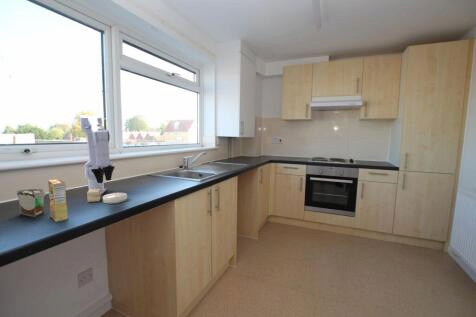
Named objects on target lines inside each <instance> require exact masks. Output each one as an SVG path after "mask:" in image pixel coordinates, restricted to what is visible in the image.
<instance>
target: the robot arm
mask: <svg viewBox="0 0 476 317" xmlns="http://www.w3.org/2000/svg"><path fill="white" fill-rule="evenodd" d="M102 119H103V118H102V117H101V116H100V115H99V116H96V115H95V116H93V115H80V116H79V123H80V129H81V132H83V133H85V136H86V141H87V143H86V144H87V149H88V150H87V153H88V161H87V162H86V163H84V166H83V168H84V170H83V172H84V177H85V178H87V182H88V191H89V190H97V189H100V190H101V194H104V192H106V191H107V188H105V186H104V184H105V183H104V182H105V181H107V182H108V181H111V180H112V176H113V172H114V170H115V167H116V166H114V164H113V162H111V161H110V148H109V147H110V146H109V142H110V139H111V138H110V132H109V130H107V129H105V128H104V126H103V120H102ZM104 178H105V181H104Z"/></svg>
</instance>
